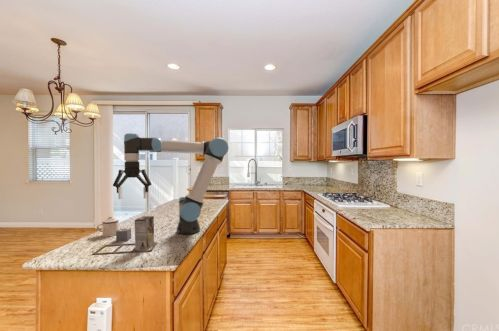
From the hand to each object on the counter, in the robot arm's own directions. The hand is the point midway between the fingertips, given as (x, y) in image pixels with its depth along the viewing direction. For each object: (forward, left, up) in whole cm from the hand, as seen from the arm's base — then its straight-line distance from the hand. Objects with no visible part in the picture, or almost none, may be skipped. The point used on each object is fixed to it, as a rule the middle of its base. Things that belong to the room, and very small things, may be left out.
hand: (132, 198), depth 132 cm
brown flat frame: (0, +8, -25) cm, 27 cm away
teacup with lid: (+22, -19, -26) cm, 39 cm away
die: (+8, -7, -25) cm, 28 cm away
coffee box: (-9, +8, -26) cm, 28 cm away
